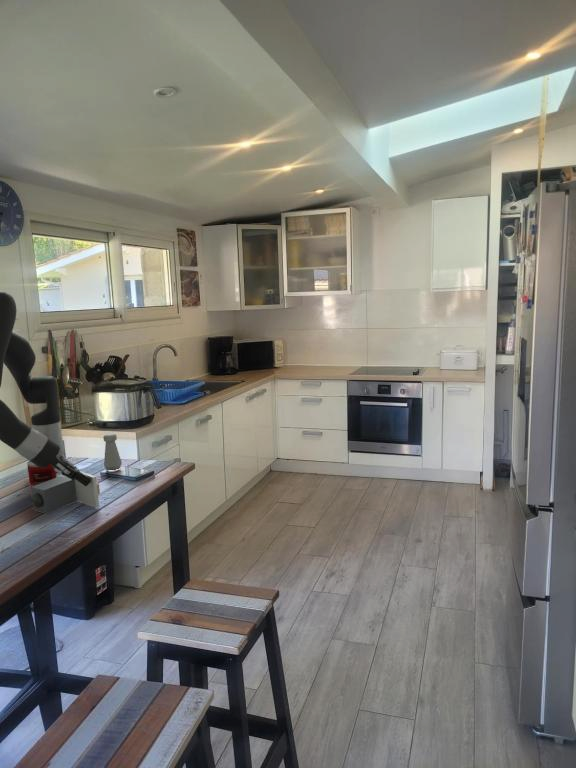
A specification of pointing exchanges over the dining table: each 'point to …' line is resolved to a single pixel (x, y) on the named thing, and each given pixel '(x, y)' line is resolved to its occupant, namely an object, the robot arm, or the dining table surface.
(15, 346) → the robot arm
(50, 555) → the dining table surface
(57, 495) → the block
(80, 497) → the side door
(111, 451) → the salt shaker
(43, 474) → the canned food
